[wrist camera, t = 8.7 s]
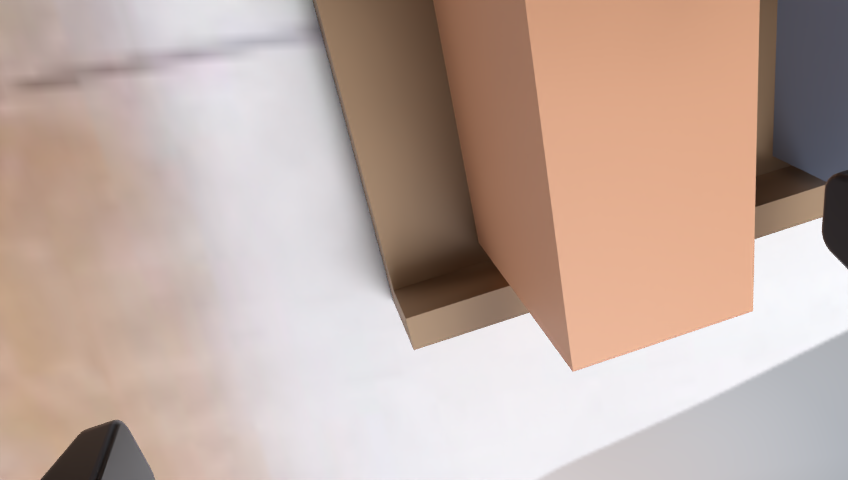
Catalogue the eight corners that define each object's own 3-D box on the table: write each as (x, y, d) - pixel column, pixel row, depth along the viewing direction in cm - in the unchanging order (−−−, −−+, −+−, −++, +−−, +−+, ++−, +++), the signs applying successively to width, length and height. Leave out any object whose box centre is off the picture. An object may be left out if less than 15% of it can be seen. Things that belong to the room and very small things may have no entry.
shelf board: (393, 301, 21) (472, 490, 14) (282, -113, 16) (326, -116, 9) (916, 136, 23) (1192, 234, 16) (970, -275, 18) (1404, -371, 11)
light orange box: (478, 242, 20) (572, 371, 14) (409, -122, 15) (508, -129, 10) (613, 200, 20) (753, 311, 15) (584, -163, 16) (764, -190, 11)
